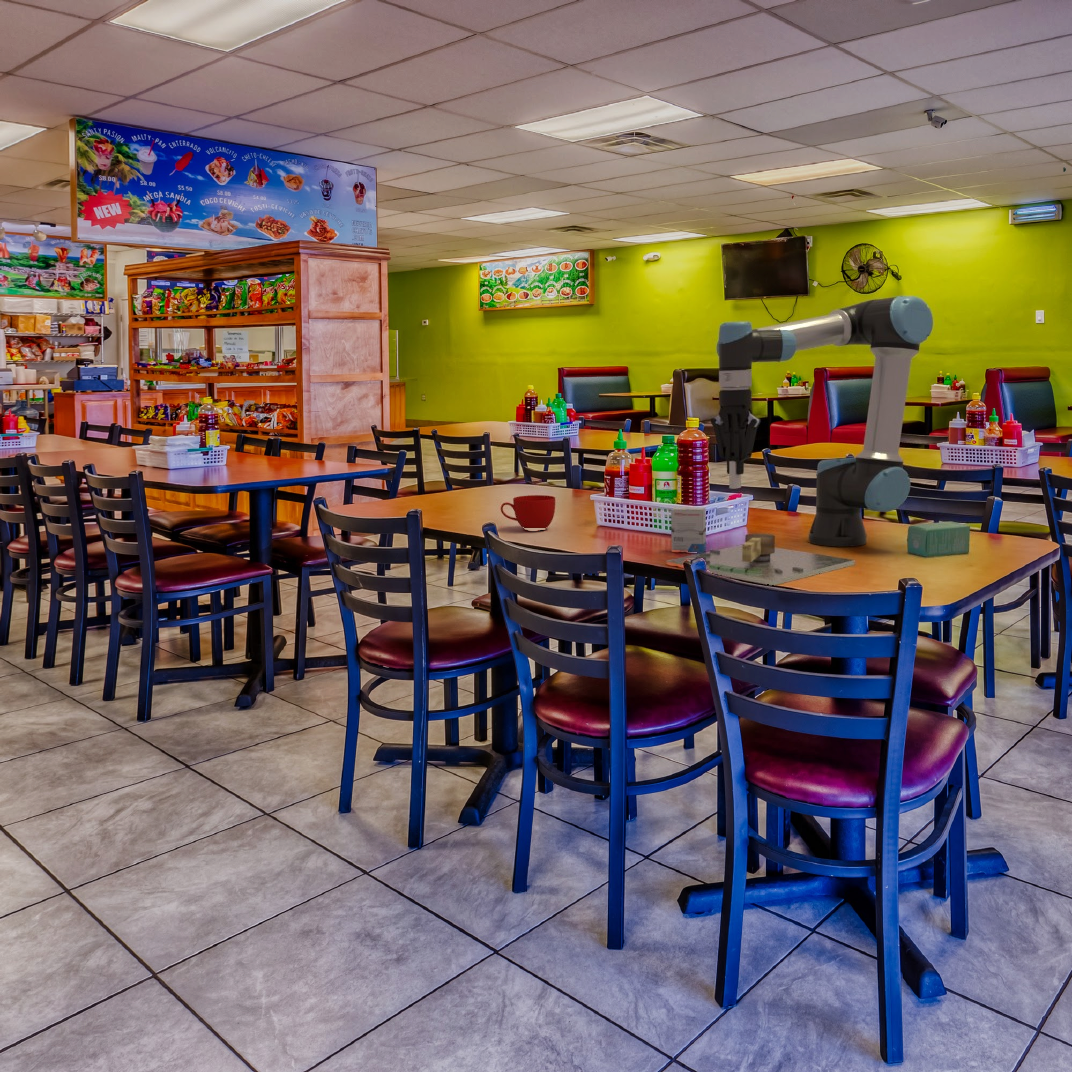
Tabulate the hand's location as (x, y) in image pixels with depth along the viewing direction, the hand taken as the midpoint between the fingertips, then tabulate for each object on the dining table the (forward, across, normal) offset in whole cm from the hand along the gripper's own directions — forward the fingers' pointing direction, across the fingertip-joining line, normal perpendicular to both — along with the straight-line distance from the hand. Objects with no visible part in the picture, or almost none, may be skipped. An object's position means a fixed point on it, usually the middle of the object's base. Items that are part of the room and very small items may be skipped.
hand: (735, 487), depth 227 cm
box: (+21, +30, +46) cm, 59 cm away
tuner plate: (+20, +3, +5) cm, 21 cm away
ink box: (+20, -20, +8) cm, 30 cm away
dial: (+16, +5, 0) cm, 17 cm away
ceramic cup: (+19, -79, +6) cm, 82 cm away
